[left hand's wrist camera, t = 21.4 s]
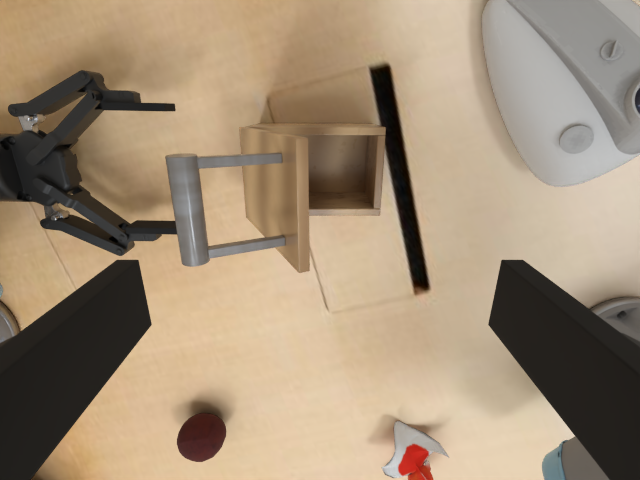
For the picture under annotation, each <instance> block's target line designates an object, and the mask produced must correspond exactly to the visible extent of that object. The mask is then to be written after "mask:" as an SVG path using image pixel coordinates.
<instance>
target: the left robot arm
mask: <svg viewBox="0 0 640 480" xmlns="http://www.w3.org/2000/svg"><path fill="white" fill-rule="evenodd" d="M151 325H152V324H151V319H150V314H149V310H148V305H147V300H146V295H145V290H144V285H143V280H142V276H141V271H140V266H139V261H138V260H116V261H115V262H114V263H112V264H111V265H110V266H108V267H107V268H106V269H104V270H103V271H102V272H100V273H99V274H98V275H96V276H95V277H94V278H92V279H91V280H90V281H88V282H87V283H85V284H84V285H83V286H81V287H80V288H79V289H77V290H76V291H75V292H73V293H72V294H71V295H69V296H68V297H67V298H65V299H64V300H63V301H61V302H60V303H59V304H57V305H56V306H55V307H53V308H52V309H51V310H49V311H48V312H46V313H45V314H44V315H42V316H41V317H40V318H38V319H37V320H36V321H34V322H33V323H32V324H30V325H29V326H28V327H26V328H25V329H24V330H22V331H21V332H20V333H18V334H17V335H15V336H13V337H11V338H9V339H7V340H5V341H3V342H1V343H0V480H31V478H32V477H33V476H34V475H35V473H36V472H37V471H38V469H39V468H40V467H41V466H42V464H43V463H44V462H45V460H46V459H47V458H48V457H49V455H50V454H51V453H52V451H53V450H54V449H55V448H56V446H57V445H58V444H59V443H60V441H61V440H62V439H63V437H64V436H65V435H66V434H67V432H68V431H69V430H70V428H71V427H72V426H73V425H74V423H75V422H76V421H77V419H78V418H79V417H80V416H81V414H82V413H83V412H84V411H85V409H86V408H87V407H88V405H89V404H90V403H91V402H92V400H93V399H94V398H95V396H96V395H97V394H98V393H99V391H100V390H101V389H102V387H103V386H104V385H105V384H106V382H107V381H108V380H109V379H110V377H111V376H112V375H113V373H114V372H115V371H116V370H117V368H118V367H119V366H120V364H121V363H122V362H123V361H124V359H125V358H126V357H127V355H128V354H129V353H130V352H131V350H132V349H133V348H134V347H135V345H136V344H137V343H138V341H139V340H140V339H141V338H142V336H143V335H144V334H145V332H146V331H147V330H148V329H149V327H150V326H151ZM488 325H489V326H490V327H491V329H492V330H493V331H494V332H495V334H496V335H497V336H498V338H499V339H500V340H501V341H502V343H503V344H504V345H505V347H506V348H507V349H508V350H509V352H510V353H511V354H512V355H513V357H514V358H515V359H516V361H517V362H518V363H519V364H520V366H521V367H522V368H523V370H524V371H525V372H526V373H527V375H528V376H529V377H530V379H531V380H532V381H533V382H534V384H535V385H536V386H537V387H538V389H539V390H540V391H541V393H542V394H543V395H544V396H545V398H546V399H547V400H548V402H549V403H550V404H551V405H552V407H553V408H554V409H555V411H556V412H557V413H558V414H559V416H560V417H561V418H562V419H563V421H564V422H565V423H566V425H567V426H568V427H569V428H570V430H571V431H572V432H573V434H574V435H575V437H574V438H572V439H570V440H565V441H563V442H562V443H561V444H560V445H559V447H557V448H556V449H554V450H553V451H551V452H550V453H548V454H547V455H546V456H545V458H544V459H543V462H542V471H543V476H544V479H545V480H640V298H635V297H622V298H616V299H612V300H608V301H606V302H603V303H601V304H598V305H597V306H595V307H593V308H591V309H590V310H589V309H588V308H587V307H585V306H584V305H583V304H581V303H580V302H579V301H577V300H576V299H575V298H573V297H572V296H571V295H569V294H568V293H567V292H565V291H564V290H563V289H561V288H560V287H559V286H557V285H556V284H555V283H553V282H552V281H550V280H549V279H548V278H546V277H545V276H544V275H542V274H541V273H540V272H538V271H537V270H536V269H534V268H533V267H532V266H530V265H529V264H528V263H526V262H525V261H524V260H502V261H501V266H500V271H499V276H498V280H497V285H496V290H495V295H494V300H493V305H492V310H491V314H490V319H489V324H488Z"/></svg>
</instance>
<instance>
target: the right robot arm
mask: <svg viewBox="0 0 640 480" xmlns="http://www.w3.org/2000/svg"><path fill="white" fill-rule="evenodd" d="M103 82H104V78H103V76H102V75H101V74H100V73H96V72H90V71H83V70H82V71H79V72H77V73H76V74H74V75H72V76H71V77H69V78H67V79H66V80H64V81H62V82H61V83H59V84H57V85H56V86H54V87H52V88H51V89H49V90H47V91H46V92H44V93H43V94H41V95H39V96H38V97H36V98H34V99H33V100H31V101H29V102H28V103H20V104H11V105H9V106H8V111H9V113H10V114H11V115H12V116H16V117H18V118H19V120H20V123H21V126H22V128H23V132H21V133H20V134H0V201H17V202H37V203H39V204H41V205H44V210H45V216H46V218H45V219H42V220H41V221H40V224H41V226H42V227H43V228H45V229H52V230H60V231H63V232H65V233H68V234H70V235H72V236H74V237H77V238H79V239H81V240H84V241H86V242H88V243H91V244H93V245H95V246H98V247H100V248H102V249H105V250H107V251H109V252H112V253H114V254H116V255H119V256H122V255H124V254H125V253H127V252H128V251H129V250H131V249H132V248H133V247H134V245H135V244H134V241H154V240H157V239H158V238H159V237H161V236H162V235H161V234H177V229H176V222H175V221H139V220H137V221H135V222H133V223H132V224H130V223H128V222H127V221H125V220H124V219H123V218H121V217H120V216H118V215H117V214H116V213H114V212H113V211H111V210H110V209H109V208H107V207H106V206H104V205H103V204H102V203H100V202H99V201H97V200H96V199H95V198H93V197H92V196H91V195H90V192H89V191H87V190H86V189H84V188H83V187H82V186H80V185H79V183H80V182H81V181H82V179H81V175H80V173H79V171H78V169H77V158H76V154H73V153H72V151H71V150H70V149H71V148H72V146H73V145H74V144H75V143H76V142H77V141H78V137H79V136H80V135H81V134H82V133H83V132H84V131H85V130H86V129H87V128H88V127H89V126H90V125H91V123H92V122H93V121H94V120H95V119H96V118H97V117H98V116H99V115H100V114H101V113H102V112H103V111H104V110H129V111H175V104H167V103H141V99H140V93H137V92H135V91H113V90H109V89H107V88H106V86H105V85H104V83H103ZM86 93H87V94H86ZM85 94H86V96H85V97H84V98H83V99H82V100H81V101H80V102H79V103H78V104H77V106H76V107H75V108H74V109H73V110H72V111H71V112H70V113H69V114H68V115H67V117H66V118H65V119H64V120H63V121H62V122H61V123H60V124H59V125H58V127H57V128H56V129H55V130H54V131H52V132H50V133H49V134H46V133H44V132H43V131H41V130H39V129H38V125H39V124H40V123H42V122H43V121H44V120H45V119H46V116H45V115H48V114H51V113H53V112H56V111H57V110H59V109H61V108H62V107H64V106H66V105H67V104H69V103H71V102H73V101H74V100H76V99H78V98H79V97H81V96H83V95H85ZM71 193H72V194H73V195H70V194H71ZM58 203H61V204H62V205H64V206H65V207H68V208H73V209H74V210H76V211H77V212H79V213H80V214H81V215H83V216H84V217H86V218H87V219H89V220H90V221H92V222H93V223H91V222H89V221H87V220H85V219H82V218H80V217H77V216H74V215H69V214H70V213H69V211H65V210H62V209H60V208H59V206H58ZM2 293H3V287H2V285H1V284H0V297H1V296H2ZM18 333H20V331H19V327H18V325H17V322H16V320H15V318H14V317H13V315H12V314H11V312H10V311H9V310H8V309H7V308H6V307H5V306H4V305H3V304H2V303H1V302H0V343H1V342H3V341H5V340H7V339H9V338H11V337H13V336H15V335H17V334H18Z"/></svg>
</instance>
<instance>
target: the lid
mask: <svg viewBox="0 0 640 480" xmlns="http://www.w3.org/2000/svg"><path fill="white" fill-rule="evenodd" d="M239 131H240V143H241V154H237V155H218V156H198V157H197V155H196V154H173V155H167V156H166V157H165V158H166V164H167V170H168V177H169V183H170V190H171V196H172V203H173V209H174V216H175V222H176V229H177V235H178V241H179V248H180V254H181V261H182V264H183V265H185V266H200V265H203V264H206V263H207V262H209V260H210V258H215V257H221V256H227V255H233V254H239V253H245V252H251V251H257V250H262V249H268V248H274V247H275V248H276V249H277V250H278V251H279V252H280V253H281V254H282V256H283V257H284V258H285V259H286V260H287V261H288V262H289V263H290V264H291V265H292V266H293V267H294V268H295V269H296V270H297V271H298V272H299V273H302V272H306V271H309V175H308V138H305V137H300V136H294V135H289V134H283V133H277V132H272V131H266V130H260V129H255V128H249V127H239ZM232 166H242V169H243V182H244V195H245V208H246V217H247V219H248V220H249V221H250V222H251V223H252V224H253V225H254V226H255V227H256V228H257V229H258V230H259V231H260V232H261V233H262V234H263V235H264V236H265V238H259V239H252V240H246V241H239V242H233V243H226V244H220V245H213V246H208V239H207V231H206V223H205V215H204V207H203V199H202V190H201V182H200V174H199V169H201V168H216V167H232Z"/></svg>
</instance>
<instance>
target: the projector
mask: <svg viewBox="0 0 640 480" xmlns="http://www.w3.org/2000/svg"><path fill="white" fill-rule="evenodd" d="M482 37H483V45H484V52H485V58H486V64H487V68H488V73H489V78H490V82H491V86H492V89H493V93H494V96H495V99H496V103H497V105H498V108H499V111H500V114H501V116H502V119H503V121H504V124H505V126H506V128H507V131H508V133H509V135H510V137H511V139H512V141H513V143H514V145H515V147H516V149H517V151H518V152H519V154H520V156H521V158H522V159H523V161H524V162H525V164H526V165H527V167H528V168H529V169H530V171H531V172H532V173H533V174H534V175H535V176H536V177H537V178H538V179H539V180H540V181H542V182H544V183H546V184H548V185H551V186H556V187H565V186H573V185H577V184H581V183H584V182H587V181H589V180H592V179H594V178H596V177H599V176H601V175H603V174H605V173H607V172H609V171H611V170H613V169H615V168H617V167H619V166H621V165H623V164H625V163H627V162H628V161H630V160H632V159H633V158H635V157H637V156H638V155H640V6H638V5H637V4H636V3H635V2H633V1H632V0H489V1H488V2H487V4H486V6H485V8H484V11H483V14H482Z"/></svg>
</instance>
